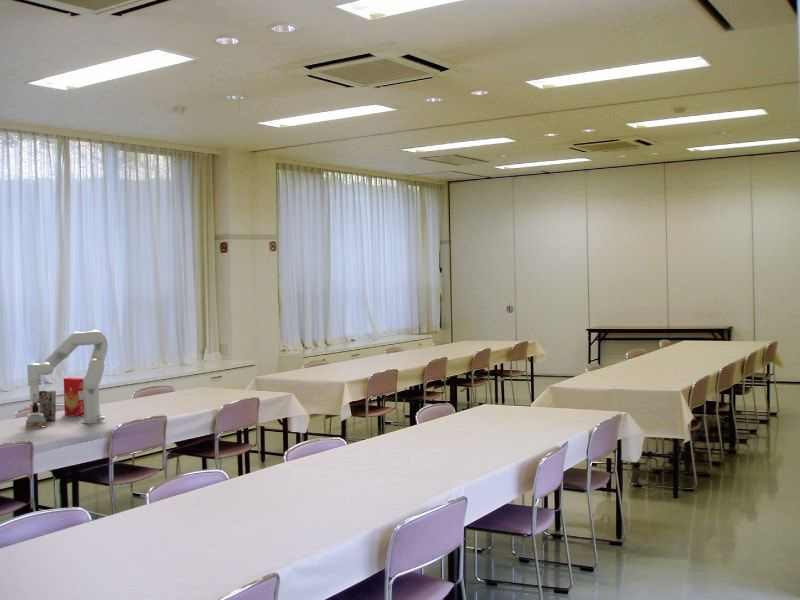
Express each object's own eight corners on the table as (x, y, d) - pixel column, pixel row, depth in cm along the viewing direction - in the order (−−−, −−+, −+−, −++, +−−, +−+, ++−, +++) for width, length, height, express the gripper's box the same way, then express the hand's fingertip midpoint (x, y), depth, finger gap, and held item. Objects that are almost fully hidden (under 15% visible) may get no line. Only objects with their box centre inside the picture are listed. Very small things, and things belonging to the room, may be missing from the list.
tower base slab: (45, 424, 522) (44, 418, 522) (46, 427, 512) (45, 421, 512) (26, 426, 517) (26, 420, 517) (27, 429, 507) (26, 423, 507)
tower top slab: (42, 419, 520) (42, 412, 520) (44, 421, 512) (44, 415, 512) (27, 420, 516) (27, 414, 516) (28, 422, 508) (28, 416, 508)
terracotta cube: (39, 411, 517) (39, 403, 517) (40, 413, 512) (40, 404, 512) (30, 412, 515) (30, 404, 515) (30, 413, 510) (30, 405, 510)
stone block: (57, 419, 539) (56, 389, 538) (53, 421, 532) (52, 391, 531) (36, 419, 538) (36, 389, 538) (32, 421, 531) (31, 391, 531)
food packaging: (64, 414, 555) (63, 378, 554) (71, 413, 560) (70, 377, 559) (78, 416, 548) (77, 379, 547) (85, 415, 552) (84, 378, 551)
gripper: (27, 381, 519) (28, 410, 520) (28, 385, 503) (29, 414, 504) (40, 381, 522) (41, 408, 523) (41, 384, 507) (42, 413, 507)
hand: (35, 411), depth 514 cm, fingers closed on terracotta cube, 5 cm apart
